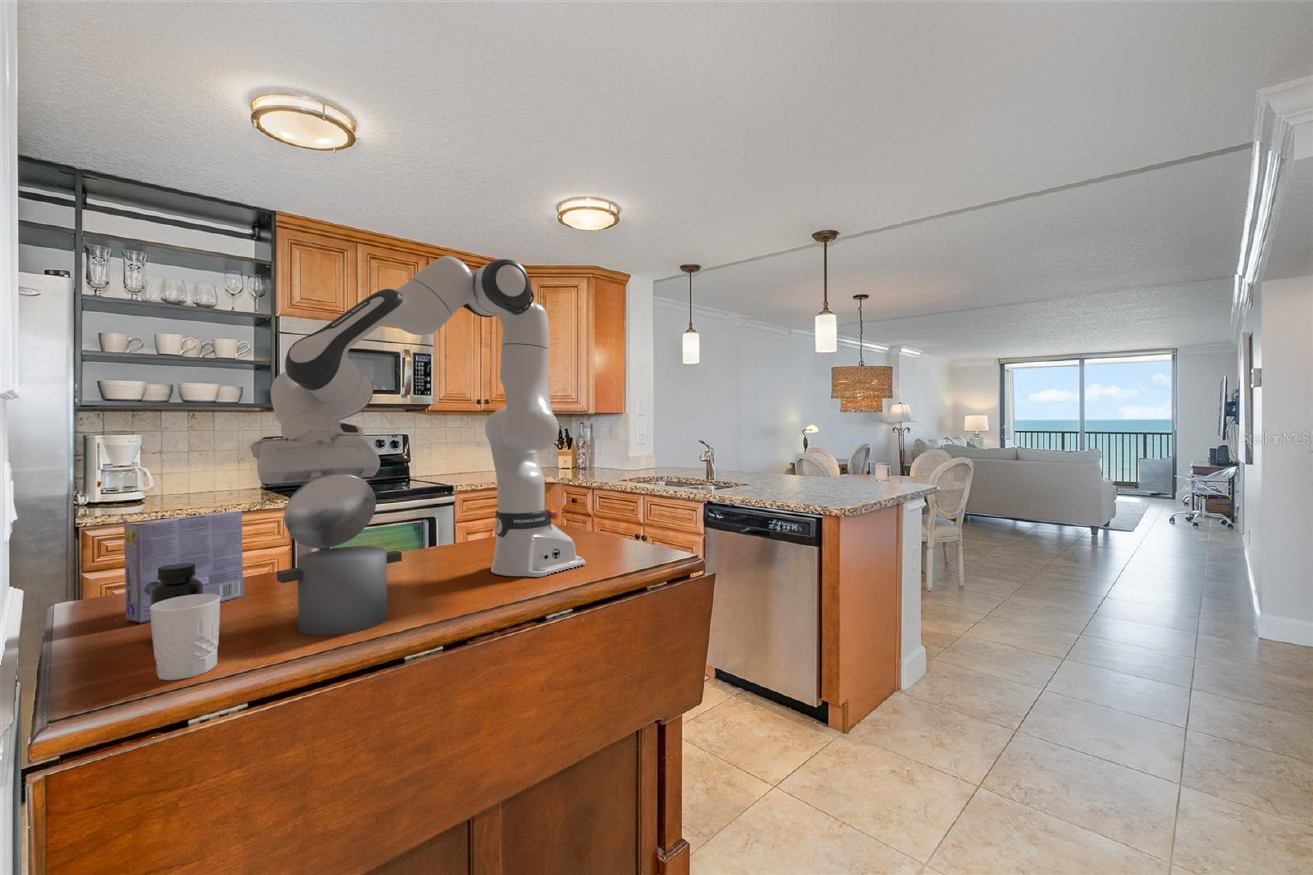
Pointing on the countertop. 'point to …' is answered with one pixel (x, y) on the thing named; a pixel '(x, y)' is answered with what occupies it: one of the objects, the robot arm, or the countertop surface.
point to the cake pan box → (183, 556)
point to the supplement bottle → (175, 583)
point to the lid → (329, 510)
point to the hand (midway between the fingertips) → (332, 493)
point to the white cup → (185, 635)
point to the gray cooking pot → (341, 589)
